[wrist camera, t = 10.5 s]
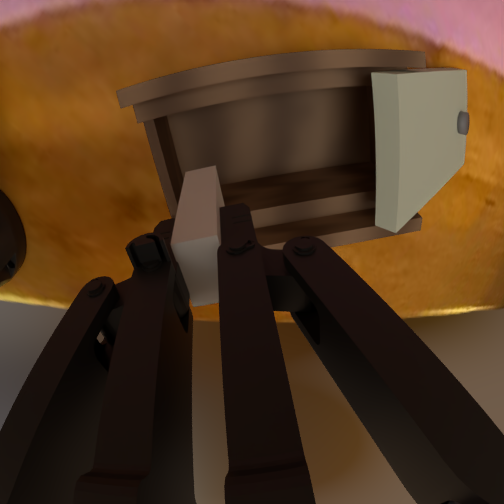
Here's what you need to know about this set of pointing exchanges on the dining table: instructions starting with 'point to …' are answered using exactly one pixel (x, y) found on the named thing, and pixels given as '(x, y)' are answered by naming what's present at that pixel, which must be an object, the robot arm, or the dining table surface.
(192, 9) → the dining table surface
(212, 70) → the box
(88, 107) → the dining table surface
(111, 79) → the dining table surface
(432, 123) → the lid
